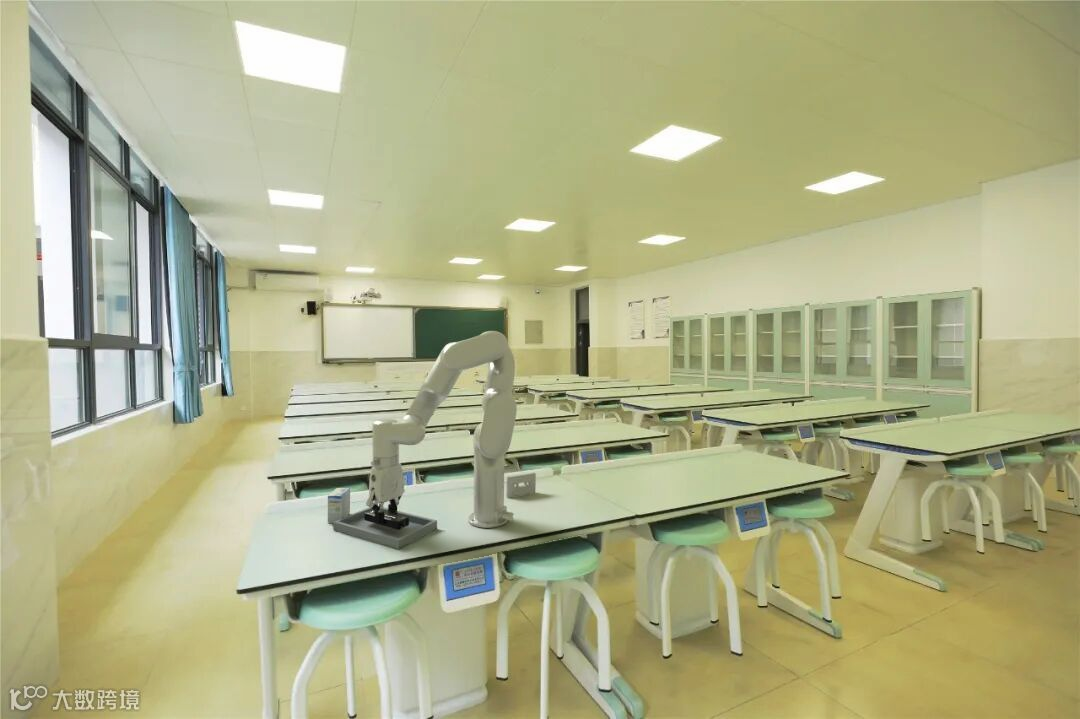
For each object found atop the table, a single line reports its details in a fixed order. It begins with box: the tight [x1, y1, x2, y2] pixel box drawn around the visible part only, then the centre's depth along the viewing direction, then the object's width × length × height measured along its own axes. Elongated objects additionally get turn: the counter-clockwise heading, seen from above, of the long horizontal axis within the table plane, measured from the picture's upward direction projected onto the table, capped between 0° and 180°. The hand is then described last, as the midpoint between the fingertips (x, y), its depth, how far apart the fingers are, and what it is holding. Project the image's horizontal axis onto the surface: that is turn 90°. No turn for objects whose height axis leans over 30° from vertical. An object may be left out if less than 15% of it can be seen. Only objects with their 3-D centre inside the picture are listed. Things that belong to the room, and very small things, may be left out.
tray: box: [332, 506, 438, 551], centre depth 140 cm, size 26×16×2 cm, turn 63°
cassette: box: [505, 472, 537, 499], centre depth 173 cm, size 12×2×8 cm, turn 121°
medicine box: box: [327, 487, 351, 524], centre depth 148 cm, size 8×4×9 cm, turn 5°
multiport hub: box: [365, 509, 409, 530], centre depth 140 cm, size 4×14×2 cm, turn 61°
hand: (386, 520), depth 140 cm, fingers closed on multiport hub, 4 cm apart
